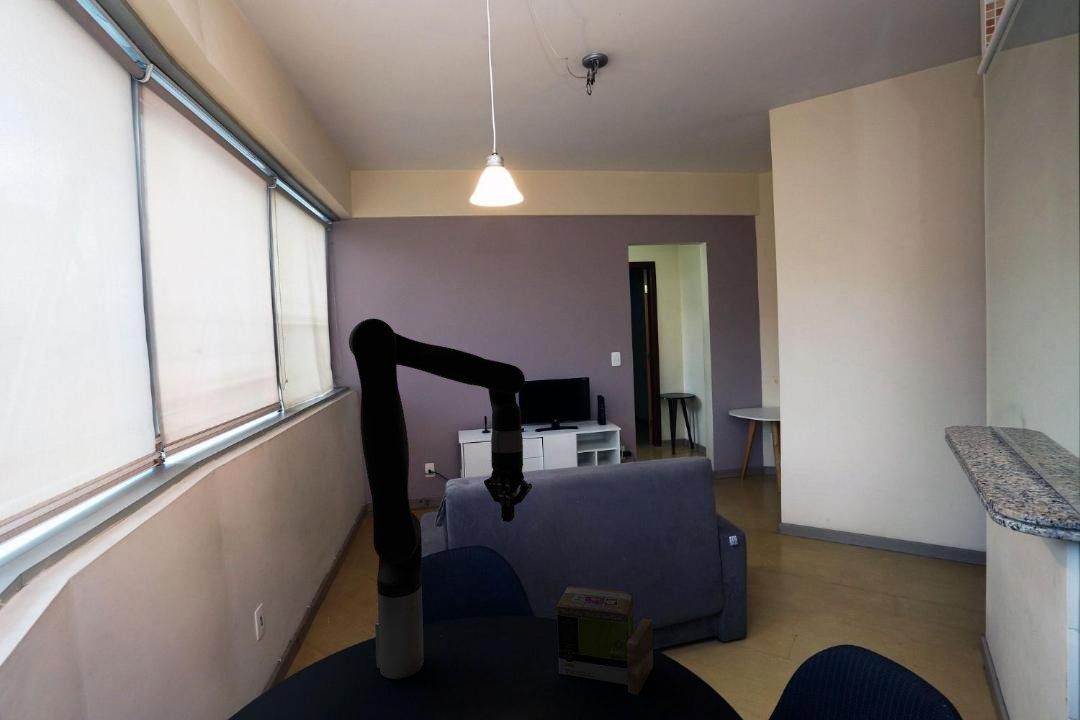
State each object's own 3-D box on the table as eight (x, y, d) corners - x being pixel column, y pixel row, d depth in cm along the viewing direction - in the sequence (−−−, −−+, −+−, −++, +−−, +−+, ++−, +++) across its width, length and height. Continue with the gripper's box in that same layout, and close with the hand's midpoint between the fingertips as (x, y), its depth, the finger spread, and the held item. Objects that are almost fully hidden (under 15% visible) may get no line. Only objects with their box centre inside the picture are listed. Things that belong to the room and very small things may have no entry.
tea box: (635, 658, 110) (634, 591, 109) (630, 688, 100) (628, 614, 100) (569, 647, 114) (567, 583, 114) (557, 675, 104) (555, 605, 104)
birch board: (627, 692, 99) (626, 642, 98) (644, 664, 107) (643, 618, 107) (637, 695, 98) (636, 644, 97) (653, 666, 106) (652, 620, 106)
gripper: (475, 448, 119) (476, 521, 119) (522, 453, 112) (523, 530, 113) (493, 443, 126) (494, 512, 126) (539, 448, 119) (539, 520, 119)
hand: (508, 520), depth 119 cm, fingers closed
